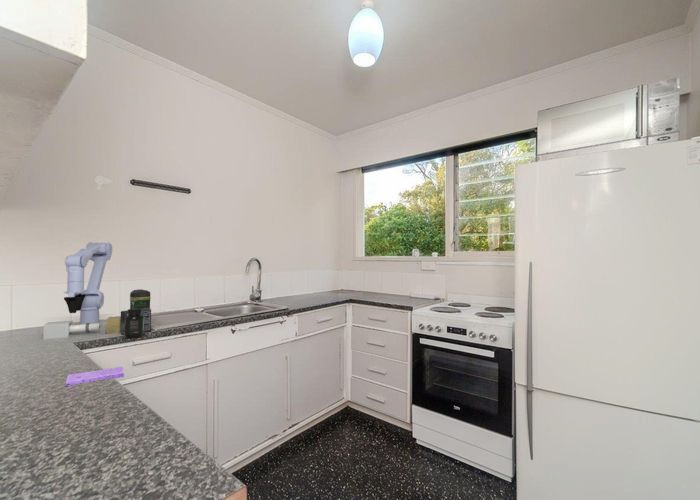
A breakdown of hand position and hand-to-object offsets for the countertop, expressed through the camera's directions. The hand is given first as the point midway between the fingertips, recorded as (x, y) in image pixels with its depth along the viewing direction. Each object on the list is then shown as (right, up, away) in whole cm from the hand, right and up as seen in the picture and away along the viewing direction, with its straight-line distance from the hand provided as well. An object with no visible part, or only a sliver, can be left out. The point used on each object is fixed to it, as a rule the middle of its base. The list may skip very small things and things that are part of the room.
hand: (75, 311), depth 144 cm
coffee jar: (+20, -11, +15) cm, 27 cm away
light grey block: (-2, -10, -6) cm, 12 cm away
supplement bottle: (+30, -10, -6) cm, 32 cm away
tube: (+2, -9, -3) cm, 10 cm away
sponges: (+53, -9, -54) cm, 76 cm away
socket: (+15, -10, +4) cm, 18 cm away
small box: (+26, -10, +2) cm, 28 cm away
